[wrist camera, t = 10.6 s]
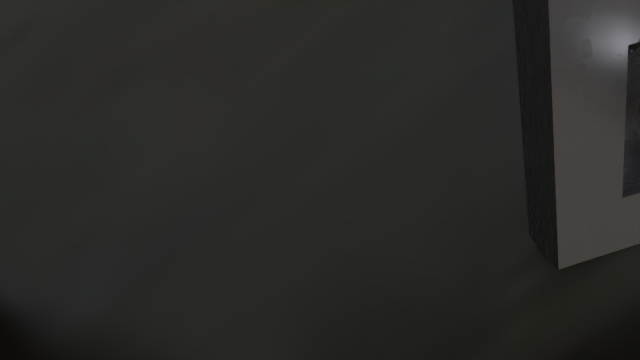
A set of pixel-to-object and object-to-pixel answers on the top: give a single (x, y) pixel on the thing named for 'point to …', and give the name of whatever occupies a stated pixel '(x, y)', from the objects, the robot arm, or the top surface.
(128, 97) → the top surface
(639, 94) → the shiny metal cylinder
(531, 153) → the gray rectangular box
